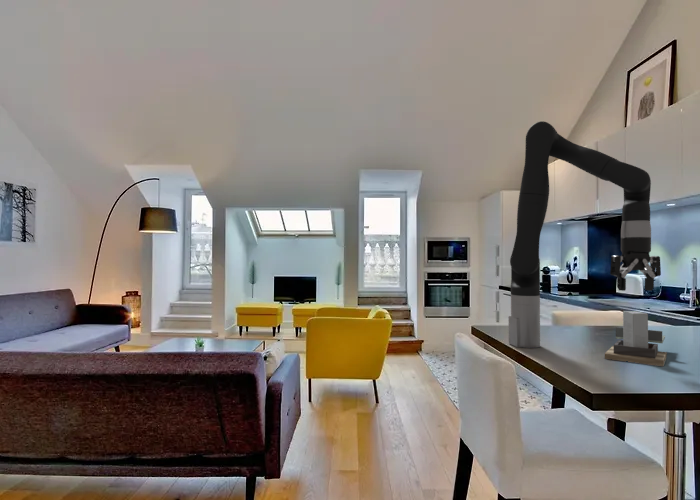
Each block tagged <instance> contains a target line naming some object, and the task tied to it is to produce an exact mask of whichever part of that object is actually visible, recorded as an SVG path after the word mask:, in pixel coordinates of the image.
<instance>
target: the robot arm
mask: <svg viewBox="0 0 700 500" xmlns="http://www.w3.org/2000/svg"><path fill="white" fill-rule="evenodd" d="M524 151H525V152H524V153H525V154H524V155H525V159H524V167H523V172H522V177H521V183H520V190H519V194H518V200H517V201H518V203H517V210H516V211H517V215H516V235H515V240H514V243H513V244H514V245H513V247H512V248H513V249H512V251H511V256H510V259H509V264H510V267H511V269H510V273H511V274H510V277H511V280H510V282H511V283H510V315H509V316H508V344H510V345H511V346H513V347H516V348H525V349H526V348H530V349H531V348H532V349H533V348H540V347H541V262H540V261H541V259H540V237H541V232H542V229H543V225H544V223H545V219H546V216H547V211H548V210H547V209H548V204H549V198H550V197H549V196H550V176H549V158H550V157H552V158H555V159H558V160H561V161H564V162H566V163H568V164H570V165H572V166H573V167H576V168H578V169H580V170H582V171H583V172H586V173H588V174H590V175H591V176H594V177H595V178H598V179H600V180H603V181H607V182H610V183H612V184H614V185H616V186H618V187H620V188H622V189H623V205H622V208H621V209H622V211H621V228H620V251H621V255H617V254H616V255H611V257H610V270H609V271H610V272H609V273H610V274H609V275H610V276H614V277H616V287H617V290H618V291H623V292H624V291H626V289H627V287H626V286H627V278H626V277H627V276H628V274H629V273H630V272H631V271H640V272H641V273H642V274H643V275H644V290H645V291H649V292H652V291H653V290H654V288H655V278H656V277H660V276H662V272H661V268H662V267H661V257H660V256H659V255H650V252H651V251H652V226H651V205H650V199H651V188H652V187H651V185H652V181H651V176H650V173H649V172H647V171H646V170H644V169H642V168H641V167H638V166H635V165H633V164H629V163H626V162H622V161H620V160H619V159H617V158H615V157H613V156H610V155H608V154H606V153H603V152H601V151H599V150H595V149H592V148H590V147H585V146H581V145H579V144H576V143H574V142H572V141H570V140H568V139H566V138H565V137H564V136H562V135H561V134H559V133H558V131H557V130H556V128H555V127H554V126H553V125H552V124H551V123H549V122H546V121H537V122H535V123H533V124H532V125H531V126H530V127H529V128H528V130H527V132H526V134H525V150H524ZM621 262H622V264H621Z"/></svg>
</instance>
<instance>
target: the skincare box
mask: <svg viewBox="0 0 700 500" xmlns="http://www.w3.org/2000/svg"><path fill="white" fill-rule="evenodd" d="M622 321H623V322H622V328H623V339H622V340H623V346H631V347H640V348H648V343H649V342H648V330H649V314H648V313H646V312H640V311H638V310H636V311H634V310H632V311H631V310H623V312H622Z"/></svg>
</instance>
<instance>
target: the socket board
mask: <svg viewBox="0 0 700 500" xmlns="http://www.w3.org/2000/svg"><path fill="white" fill-rule="evenodd" d="M658 345H659V343H653V342H648V348H640V347H631V346H623V339H618V340H617V341H616V342H615V343H614V344H613V345H612V346H611V347H610V348H609V349H608V350H606V351H605V353H604V360H605V359H606V360H611V359H612V361H613V360H614V361H619V362H626V361H628V362H629V363H634V362H635V363H636V364H641V365H649V366H656V367H657V366H658V367H664V365H665V363H666V360H667V356H668V352H666V351H659V346H658ZM628 362H627V363H628Z"/></svg>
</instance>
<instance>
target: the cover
mask: <svg viewBox="0 0 700 500" xmlns="http://www.w3.org/2000/svg"><path fill="white" fill-rule="evenodd" d="M615 339H618V340H623V326H622V327H619V326H615ZM665 339H666V335H663V331H662V330H656V329H655V330H653V329H648V343H652V344H663V343H664V340H665Z"/></svg>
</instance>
